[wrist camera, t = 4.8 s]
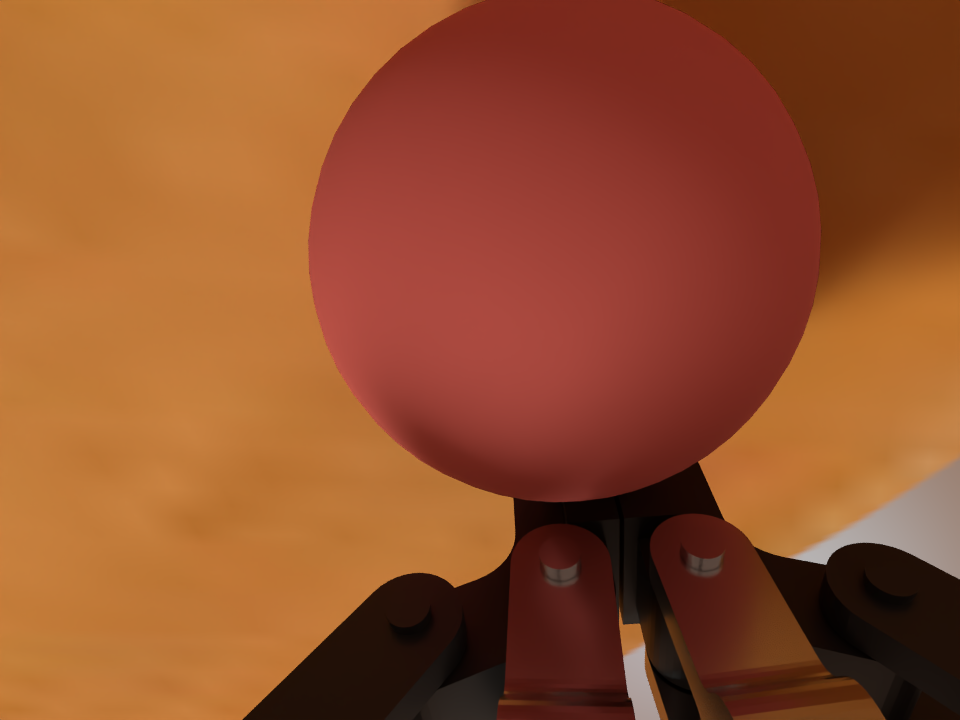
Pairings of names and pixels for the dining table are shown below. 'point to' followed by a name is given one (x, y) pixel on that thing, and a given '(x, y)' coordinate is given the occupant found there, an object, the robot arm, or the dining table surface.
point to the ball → (564, 245)
